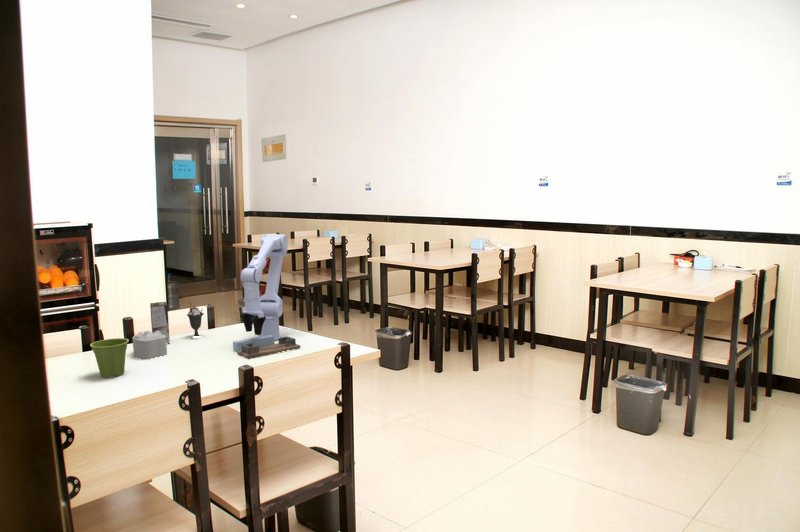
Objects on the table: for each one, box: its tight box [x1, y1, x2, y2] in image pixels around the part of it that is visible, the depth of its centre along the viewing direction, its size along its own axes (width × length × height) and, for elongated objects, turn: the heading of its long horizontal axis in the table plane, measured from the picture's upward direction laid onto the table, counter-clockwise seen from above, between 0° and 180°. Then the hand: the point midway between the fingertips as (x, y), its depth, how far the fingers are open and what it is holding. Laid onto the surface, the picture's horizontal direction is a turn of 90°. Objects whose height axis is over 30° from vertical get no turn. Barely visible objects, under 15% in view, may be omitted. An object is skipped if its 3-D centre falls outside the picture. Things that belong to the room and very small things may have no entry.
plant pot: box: [89, 337, 130, 378], centre depth 205 cm, size 12×12×11 cm
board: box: [236, 335, 301, 360], centre depth 232 cm, size 9×22×4 cm, turn 130°
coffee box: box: [149, 301, 171, 343], centre depth 248 cm, size 9×6×16 cm
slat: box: [232, 335, 275, 353], centre depth 238 cm, size 3×16×4 cm, turn 130°
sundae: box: [186, 302, 205, 336], centre depth 255 cm, size 7×7×15 cm
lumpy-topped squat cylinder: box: [132, 330, 168, 360], centre depth 230 cm, size 10×13×9 cm
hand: (253, 333), depth 237 cm, fingers open, 7 cm apart
